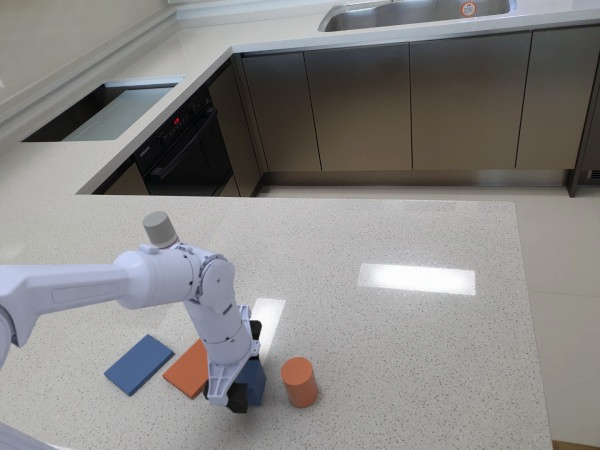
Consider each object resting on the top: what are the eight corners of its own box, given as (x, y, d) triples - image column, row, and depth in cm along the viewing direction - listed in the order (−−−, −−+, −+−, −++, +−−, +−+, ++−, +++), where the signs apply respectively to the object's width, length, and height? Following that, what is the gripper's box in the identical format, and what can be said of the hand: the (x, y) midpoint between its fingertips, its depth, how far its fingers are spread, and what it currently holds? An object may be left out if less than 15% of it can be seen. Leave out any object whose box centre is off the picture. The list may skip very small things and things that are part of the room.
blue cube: (260, 406, 65) (253, 388, 62) (230, 405, 66) (222, 387, 63) (266, 378, 68) (260, 360, 65) (238, 377, 69) (230, 359, 66)
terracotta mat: (192, 399, 67) (190, 396, 67) (163, 378, 71) (161, 375, 71) (234, 355, 73) (233, 352, 72) (205, 337, 76) (203, 334, 76)
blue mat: (130, 397, 70) (128, 394, 69) (105, 376, 74) (103, 373, 73) (174, 353, 75) (173, 350, 74) (149, 336, 79) (147, 333, 78)
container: (170, 275, 90) (141, 215, 81) (193, 267, 91) (166, 207, 82) (172, 291, 87) (141, 230, 78) (196, 283, 87) (168, 221, 78)
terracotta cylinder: (306, 413, 63) (299, 390, 59) (281, 397, 65) (273, 375, 62) (324, 388, 65) (318, 365, 62) (300, 374, 68) (293, 351, 64)
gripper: (236, 376, 51) (263, 436, 60) (261, 282, 62) (281, 344, 71) (178, 375, 53) (212, 434, 61) (213, 283, 64) (238, 344, 72)
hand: (246, 385), depth 66 cm, fingers open, 7 cm apart
